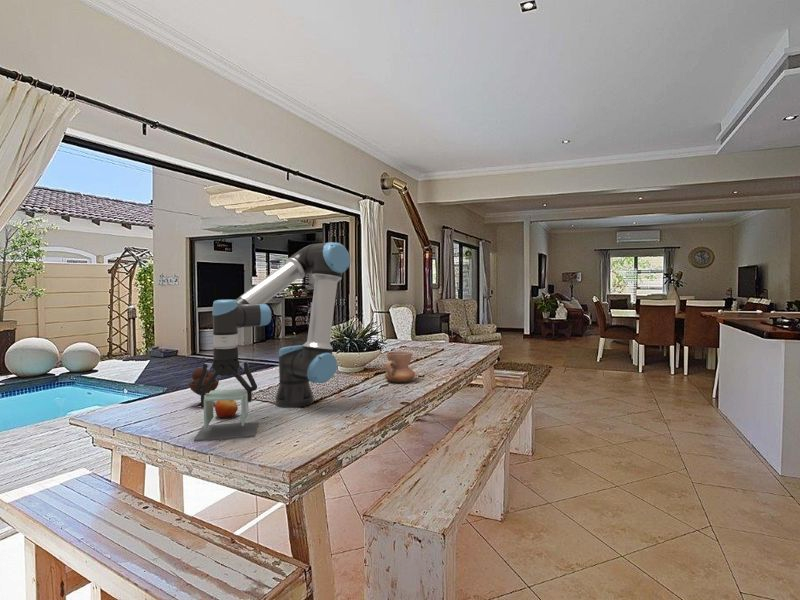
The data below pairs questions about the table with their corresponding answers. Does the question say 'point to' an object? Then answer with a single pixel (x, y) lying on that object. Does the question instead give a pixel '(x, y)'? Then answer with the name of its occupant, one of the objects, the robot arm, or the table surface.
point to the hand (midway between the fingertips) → (226, 412)
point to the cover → (219, 396)
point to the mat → (227, 431)
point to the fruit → (225, 408)
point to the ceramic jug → (399, 367)
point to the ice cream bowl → (196, 378)
